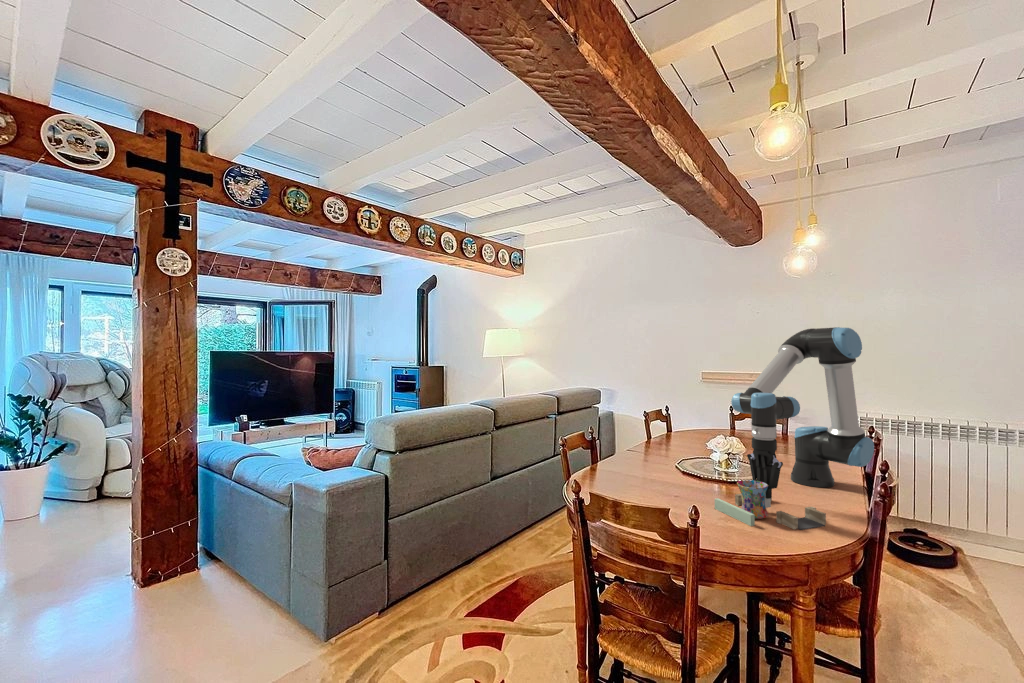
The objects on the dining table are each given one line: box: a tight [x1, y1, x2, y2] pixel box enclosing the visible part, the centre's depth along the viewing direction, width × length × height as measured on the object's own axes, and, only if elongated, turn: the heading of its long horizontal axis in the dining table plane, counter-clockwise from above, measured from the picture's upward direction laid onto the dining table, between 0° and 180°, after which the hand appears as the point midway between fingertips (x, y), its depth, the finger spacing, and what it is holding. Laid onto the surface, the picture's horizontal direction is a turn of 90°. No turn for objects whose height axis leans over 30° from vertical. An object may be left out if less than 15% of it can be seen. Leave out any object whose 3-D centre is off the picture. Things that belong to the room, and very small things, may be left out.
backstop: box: [714, 497, 756, 527], centre depth 148 cm, size 2×16×4 cm, turn 16°
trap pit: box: [797, 516, 826, 531], centre depth 142 cm, size 10×7×1 cm
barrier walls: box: [734, 493, 827, 530], centre depth 151 cm, size 15×24×4 cm, turn 16°
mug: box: [736, 479, 769, 520], centre depth 150 cm, size 12×9×11 cm
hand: (765, 506), depth 152 cm, fingers closed
